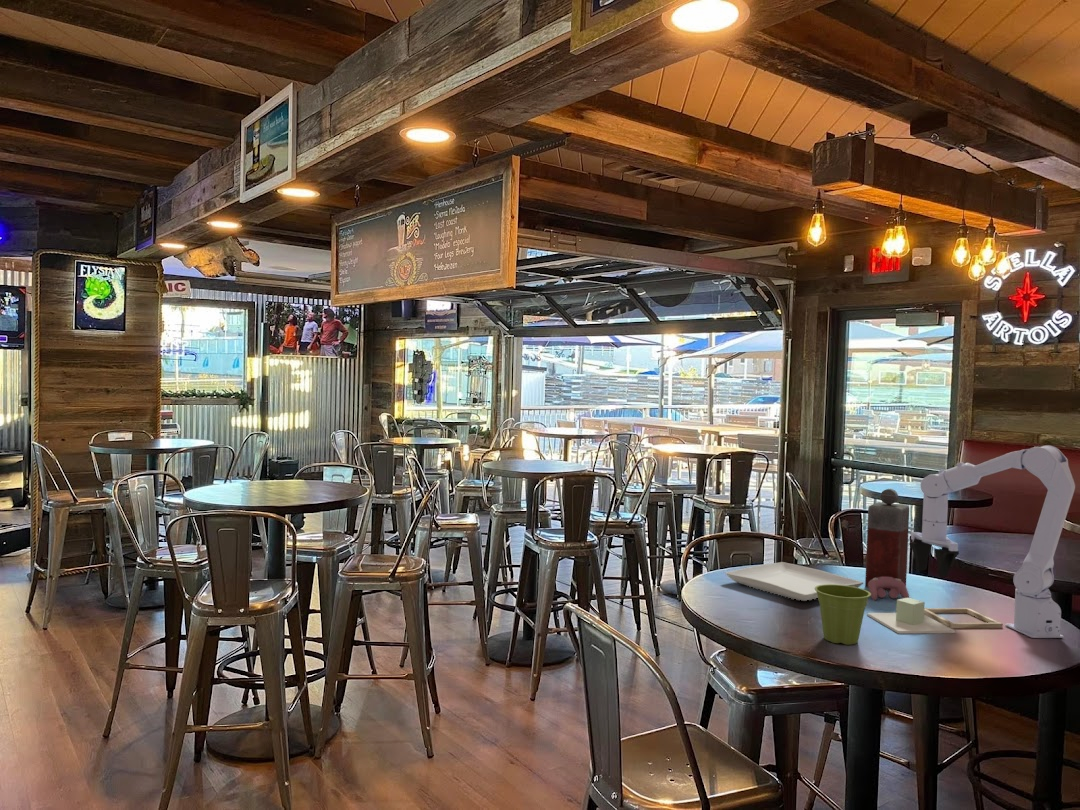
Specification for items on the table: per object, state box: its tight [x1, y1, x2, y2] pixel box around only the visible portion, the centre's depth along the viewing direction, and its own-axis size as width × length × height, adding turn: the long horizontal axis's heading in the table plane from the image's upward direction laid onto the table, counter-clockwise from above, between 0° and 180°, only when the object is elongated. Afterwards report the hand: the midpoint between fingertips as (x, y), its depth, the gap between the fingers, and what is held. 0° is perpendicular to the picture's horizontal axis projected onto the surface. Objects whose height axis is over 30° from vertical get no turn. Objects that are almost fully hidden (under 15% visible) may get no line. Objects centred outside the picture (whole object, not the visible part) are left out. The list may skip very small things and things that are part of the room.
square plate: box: [725, 561, 864, 602], centre depth 223 cm, size 27×27×4 cm
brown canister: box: [864, 488, 910, 592], centre depth 227 cm, size 9×11×28 cm
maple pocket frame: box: [924, 607, 1004, 629], centre depth 196 cm, size 13×13×1 cm
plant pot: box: [815, 584, 871, 646], centre depth 178 cm, size 12×12×11 cm
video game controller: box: [867, 577, 910, 602], centre depth 214 cm, size 10×5×7 cm, turn 85°
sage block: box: [895, 597, 925, 625], centre depth 191 cm, size 4×4×5 cm
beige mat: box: [866, 612, 956, 635], centre depth 191 cm, size 14×14×1 cm
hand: (932, 573), depth 204 cm, fingers open, 7 cm apart
